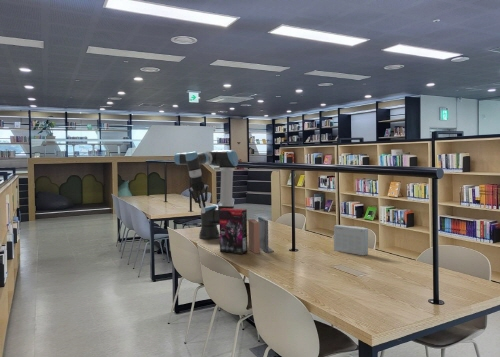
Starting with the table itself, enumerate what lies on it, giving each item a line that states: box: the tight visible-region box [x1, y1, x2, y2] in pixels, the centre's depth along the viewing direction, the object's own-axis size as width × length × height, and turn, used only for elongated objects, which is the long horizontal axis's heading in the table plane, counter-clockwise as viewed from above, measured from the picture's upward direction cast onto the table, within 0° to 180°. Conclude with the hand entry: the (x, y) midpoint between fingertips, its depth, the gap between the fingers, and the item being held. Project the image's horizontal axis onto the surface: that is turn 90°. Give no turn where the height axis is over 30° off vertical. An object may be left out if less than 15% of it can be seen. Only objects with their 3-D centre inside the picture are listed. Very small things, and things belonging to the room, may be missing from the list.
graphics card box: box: [219, 208, 248, 255], centre depth 249 cm, size 17×7×27 cm, turn 62°
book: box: [247, 218, 261, 254], centre depth 253 cm, size 13×4×19 cm, turn 16°
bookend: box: [257, 216, 275, 253], centre depth 255 cm, size 16×5×20 cm, turn 16°
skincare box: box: [333, 224, 369, 256], centre depth 244 cm, size 21×6×16 cm, turn 47°
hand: (203, 212), depth 251 cm, fingers closed
